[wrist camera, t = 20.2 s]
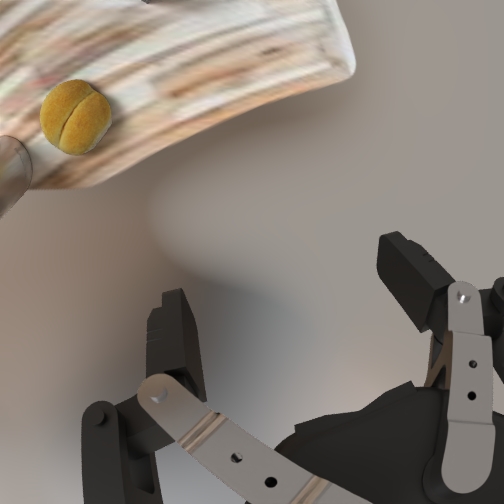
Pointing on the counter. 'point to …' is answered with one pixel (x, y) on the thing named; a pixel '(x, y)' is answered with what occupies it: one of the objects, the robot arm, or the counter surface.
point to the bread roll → (75, 117)
